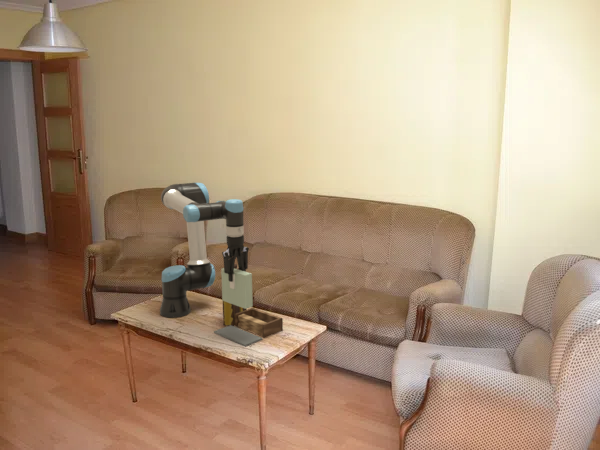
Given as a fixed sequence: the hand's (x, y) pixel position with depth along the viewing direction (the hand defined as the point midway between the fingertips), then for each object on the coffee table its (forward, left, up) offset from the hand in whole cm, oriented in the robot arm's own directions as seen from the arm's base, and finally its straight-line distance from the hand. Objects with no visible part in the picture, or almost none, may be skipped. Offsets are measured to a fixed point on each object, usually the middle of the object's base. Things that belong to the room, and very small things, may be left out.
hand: (236, 286), depth 235 cm
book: (-18, +14, -24) cm, 33 cm away
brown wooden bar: (0, +9, -23) cm, 25 cm away
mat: (0, 0, -23) cm, 23 cm away
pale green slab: (0, 0, -8) cm, 8 cm away
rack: (0, +13, -23) cm, 27 cm away
